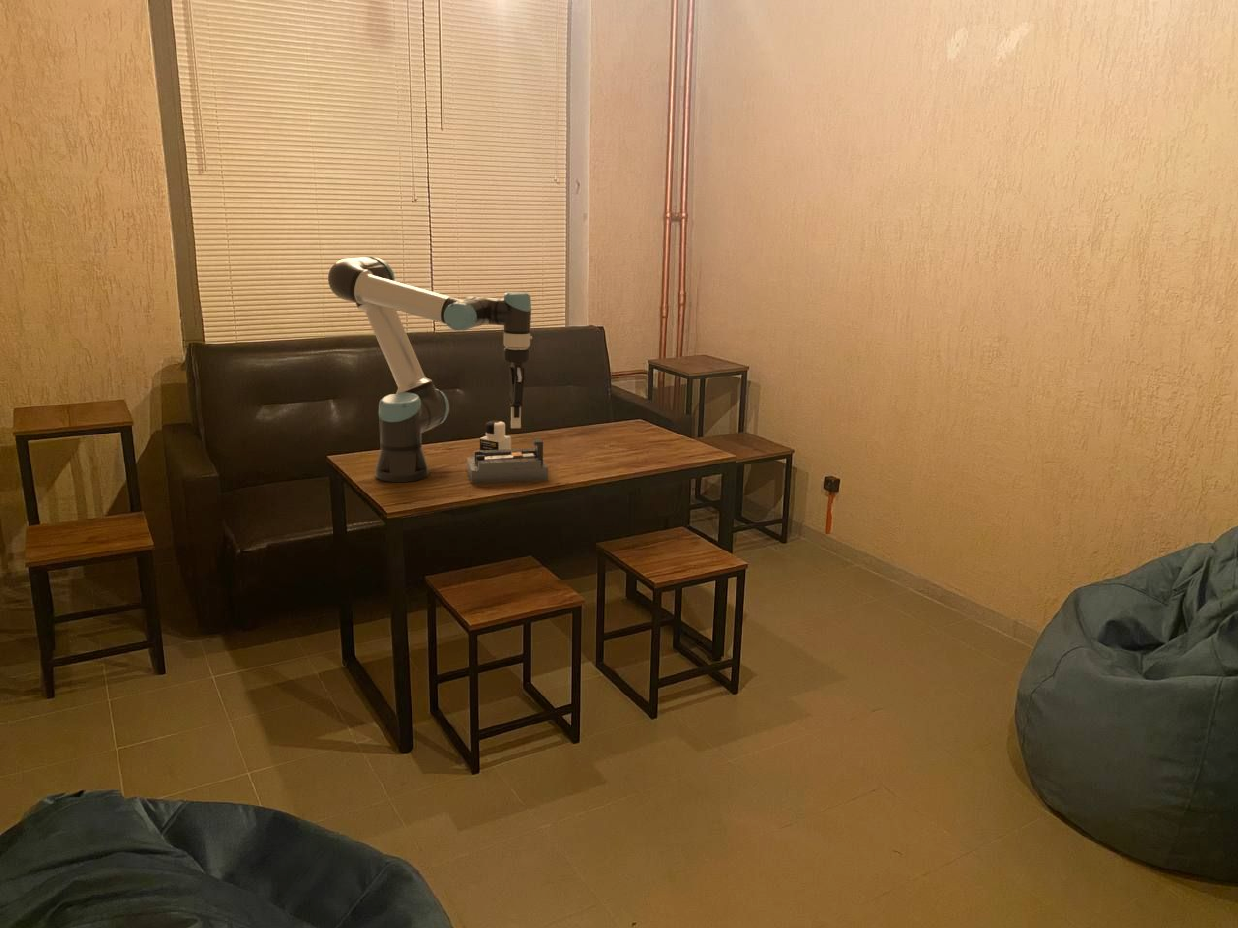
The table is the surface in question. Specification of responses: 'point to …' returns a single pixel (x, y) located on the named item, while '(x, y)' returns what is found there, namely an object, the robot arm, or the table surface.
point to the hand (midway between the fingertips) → (515, 427)
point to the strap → (511, 456)
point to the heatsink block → (508, 466)
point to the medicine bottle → (495, 437)
